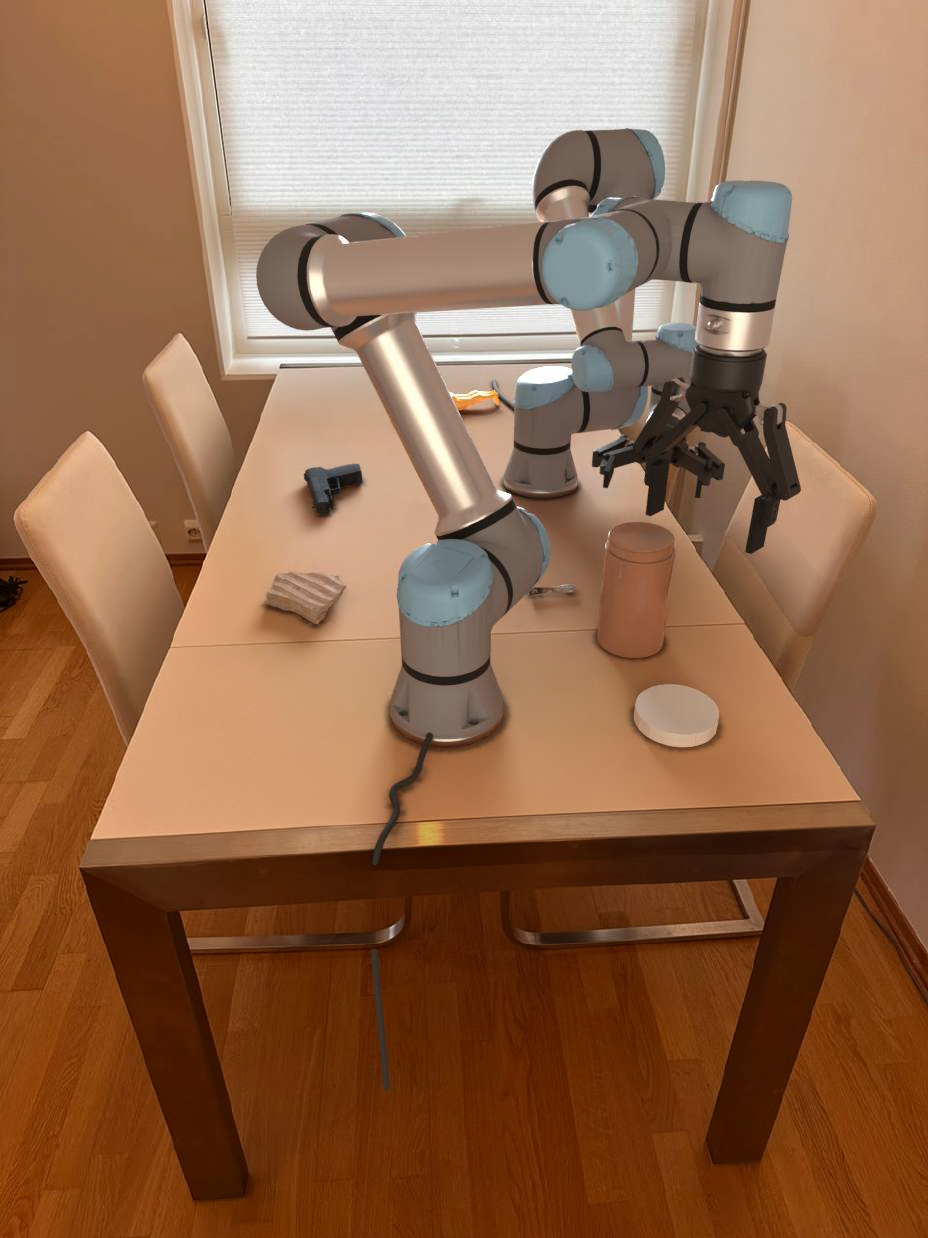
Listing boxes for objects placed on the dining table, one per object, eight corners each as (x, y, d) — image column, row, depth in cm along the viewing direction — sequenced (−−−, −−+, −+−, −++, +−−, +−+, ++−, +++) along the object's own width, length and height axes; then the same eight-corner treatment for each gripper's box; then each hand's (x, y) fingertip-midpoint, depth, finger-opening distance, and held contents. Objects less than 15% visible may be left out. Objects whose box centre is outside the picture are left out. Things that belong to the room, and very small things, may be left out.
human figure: (395, 413, 223) (394, 398, 221) (438, 390, 237) (438, 375, 235) (462, 429, 215) (462, 413, 213) (502, 404, 229) (503, 388, 227)
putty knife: (576, 592, 148) (577, 584, 147) (529, 598, 146) (530, 589, 145) (574, 589, 149) (575, 581, 148) (528, 595, 147) (528, 586, 146)
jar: (584, 642, 136) (592, 537, 126) (619, 615, 142) (629, 514, 132) (641, 666, 130) (654, 558, 121) (674, 637, 136) (689, 533, 127)
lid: (733, 739, 116) (735, 726, 115) (655, 754, 113) (657, 741, 112) (693, 691, 125) (695, 678, 124) (620, 703, 122) (621, 691, 121)
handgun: (374, 509, 176) (313, 517, 173) (359, 474, 190) (302, 481, 188) (373, 494, 174) (311, 502, 172) (358, 460, 188) (301, 466, 186)
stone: (356, 590, 149) (354, 577, 147) (319, 626, 139) (317, 612, 138) (289, 576, 153) (287, 563, 152) (249, 610, 144) (247, 596, 142)
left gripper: (613, 331, 98) (598, 507, 110) (825, 379, 83) (783, 578, 94) (653, 319, 103) (635, 489, 114) (862, 363, 87) (818, 555, 99)
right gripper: (738, 463, 149) (734, 517, 131) (589, 449, 155) (567, 498, 137) (745, 420, 145) (742, 469, 128) (592, 407, 151) (570, 452, 133)
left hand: (702, 530), depth 104 cm, fingers open, 13 cm apart
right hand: (651, 484), depth 132 cm, fingers open, 13 cm apart
